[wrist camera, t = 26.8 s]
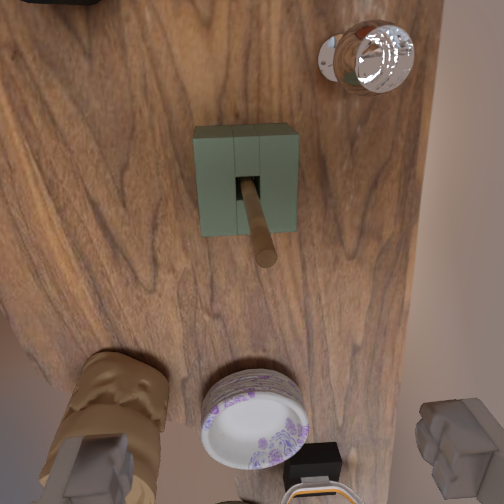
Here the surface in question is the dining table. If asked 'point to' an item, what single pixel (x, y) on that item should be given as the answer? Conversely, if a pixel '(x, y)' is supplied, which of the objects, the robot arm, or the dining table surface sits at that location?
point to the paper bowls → (253, 419)
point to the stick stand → (246, 164)
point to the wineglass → (368, 57)
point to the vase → (233, 502)
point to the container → (119, 415)
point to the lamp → (315, 473)
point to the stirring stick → (257, 224)
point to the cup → (63, 2)
